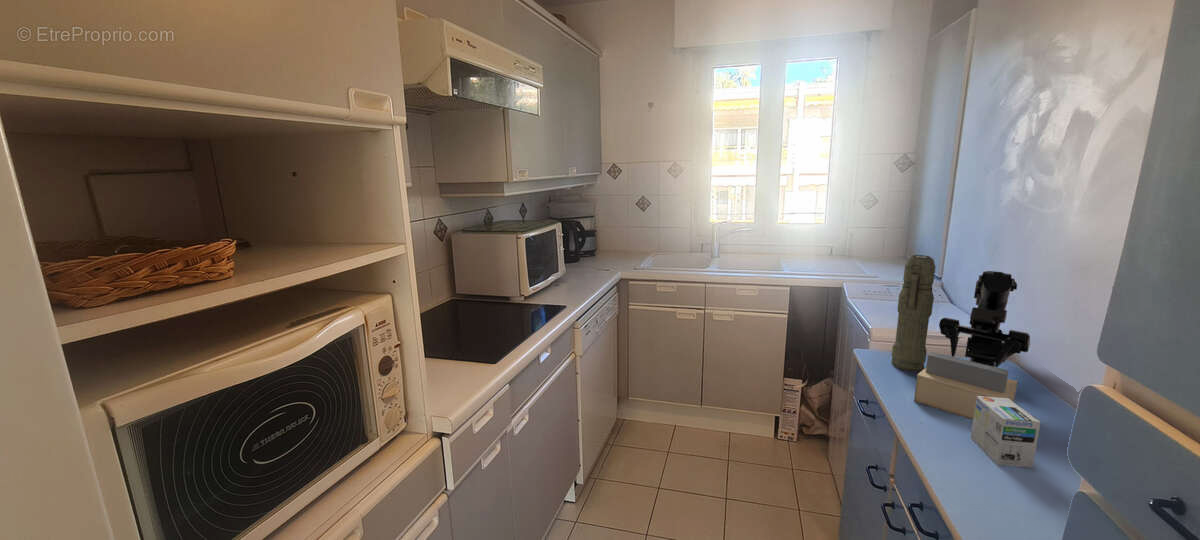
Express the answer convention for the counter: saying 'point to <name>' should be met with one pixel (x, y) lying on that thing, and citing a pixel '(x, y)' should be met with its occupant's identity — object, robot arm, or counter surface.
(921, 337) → the thermos
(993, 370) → the grey stone
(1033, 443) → the light bulb box
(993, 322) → the robot arm
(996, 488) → the counter surface
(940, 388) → the carton
